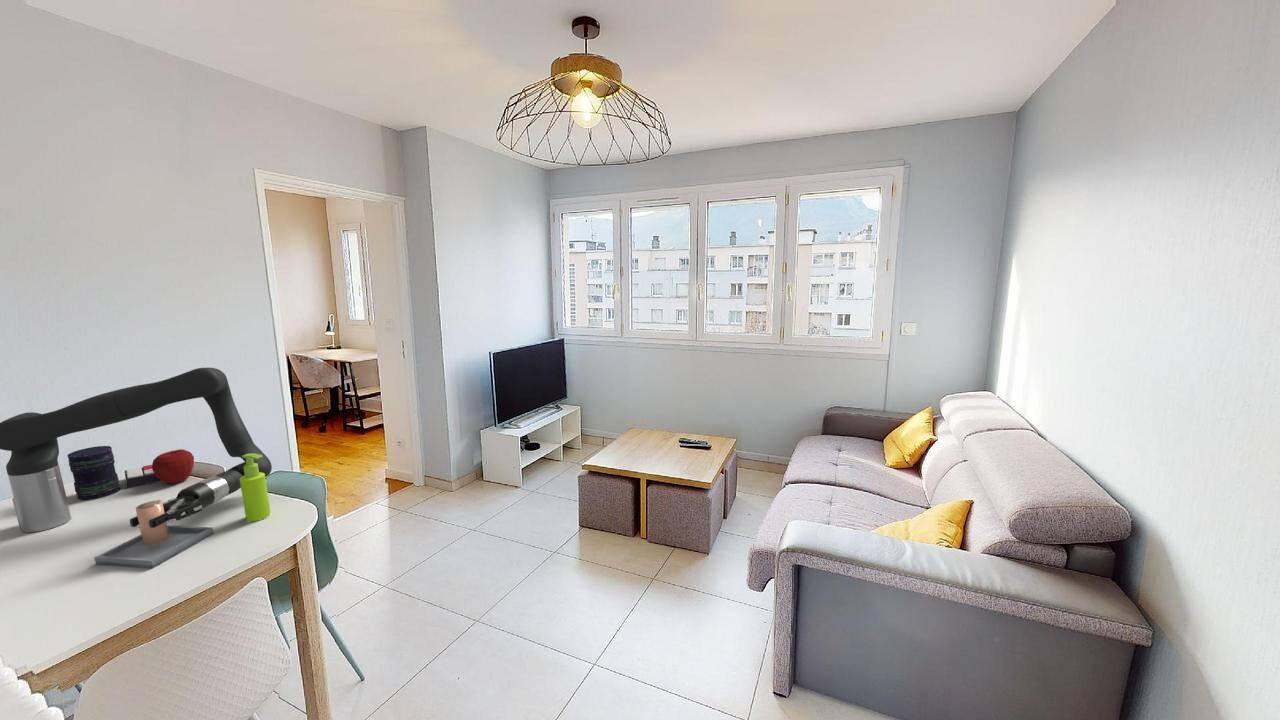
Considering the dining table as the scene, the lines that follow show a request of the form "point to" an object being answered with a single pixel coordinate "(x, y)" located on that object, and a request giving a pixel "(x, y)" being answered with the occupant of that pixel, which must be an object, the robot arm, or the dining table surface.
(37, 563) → the dining table surface
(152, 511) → the cup
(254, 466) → the soap dispenser
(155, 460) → the apple
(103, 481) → the storage jar
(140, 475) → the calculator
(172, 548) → the tray
